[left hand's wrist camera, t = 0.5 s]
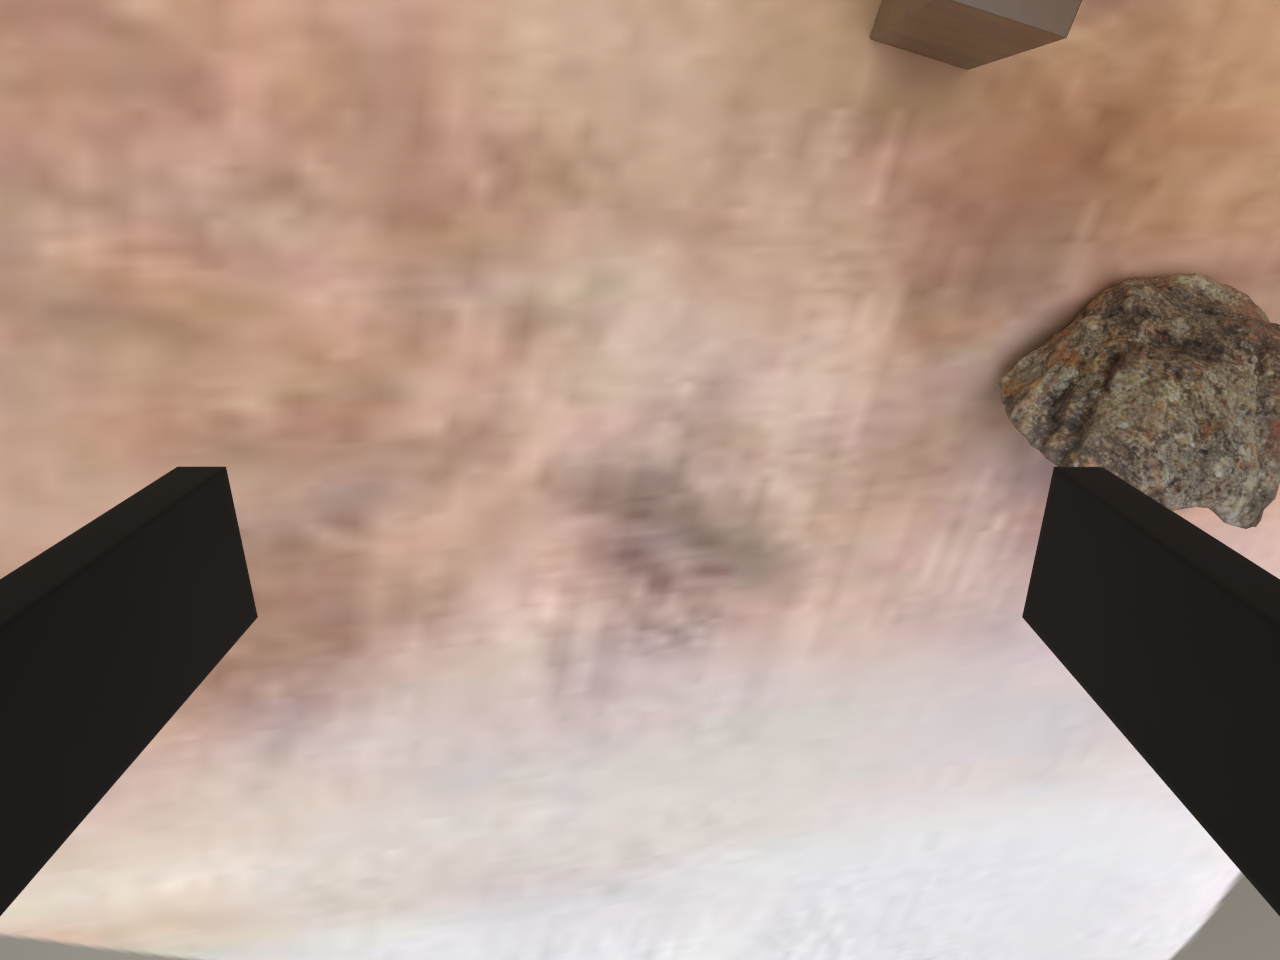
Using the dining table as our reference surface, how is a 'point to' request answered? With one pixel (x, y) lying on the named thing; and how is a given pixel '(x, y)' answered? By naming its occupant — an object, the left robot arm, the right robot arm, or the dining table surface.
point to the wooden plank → (972, 27)
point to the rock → (1161, 394)
